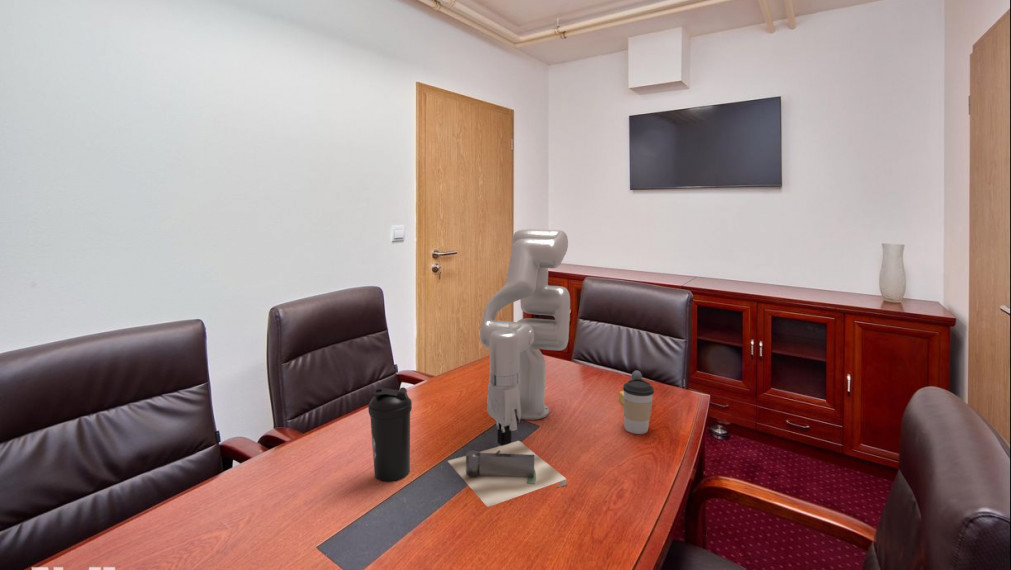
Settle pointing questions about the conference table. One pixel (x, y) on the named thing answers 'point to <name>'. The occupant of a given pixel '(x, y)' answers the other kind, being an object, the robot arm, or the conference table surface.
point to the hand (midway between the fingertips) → (504, 443)
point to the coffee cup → (637, 405)
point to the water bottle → (390, 433)
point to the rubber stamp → (635, 375)
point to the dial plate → (508, 477)
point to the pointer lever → (499, 464)
